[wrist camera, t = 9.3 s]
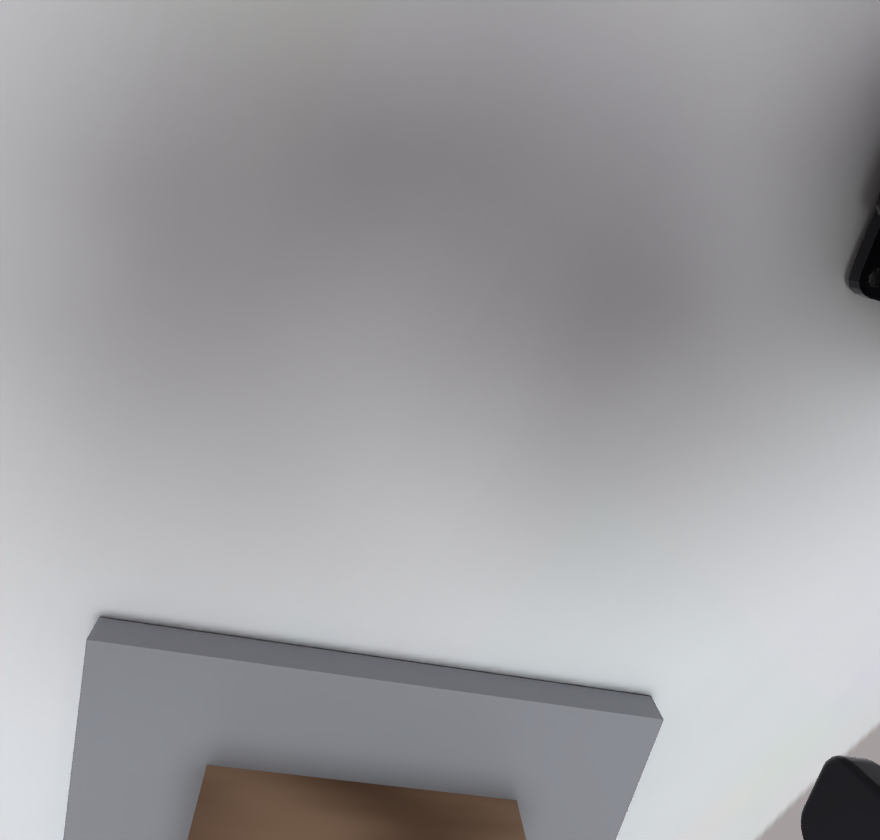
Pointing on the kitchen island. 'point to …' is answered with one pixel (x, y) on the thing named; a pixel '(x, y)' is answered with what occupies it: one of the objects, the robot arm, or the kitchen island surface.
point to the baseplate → (338, 732)
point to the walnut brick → (341, 810)
